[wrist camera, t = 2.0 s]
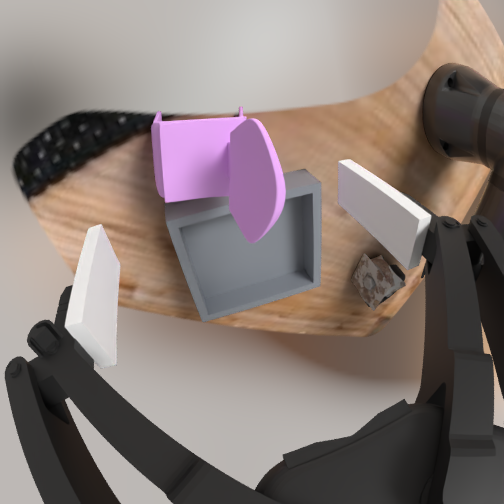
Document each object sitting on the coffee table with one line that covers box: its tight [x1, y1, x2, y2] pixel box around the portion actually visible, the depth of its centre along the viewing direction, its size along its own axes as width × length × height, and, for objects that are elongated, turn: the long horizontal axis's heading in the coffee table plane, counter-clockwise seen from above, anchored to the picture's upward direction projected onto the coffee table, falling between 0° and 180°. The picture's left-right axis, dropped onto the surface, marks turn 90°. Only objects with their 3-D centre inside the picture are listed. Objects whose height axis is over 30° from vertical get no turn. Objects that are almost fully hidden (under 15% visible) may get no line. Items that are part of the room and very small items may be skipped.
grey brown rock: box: [351, 253, 406, 311], centre depth 46 cm, size 7×11×10 cm
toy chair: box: [151, 107, 286, 243], centre depth 22 cm, size 8×9×15 cm
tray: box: [165, 169, 321, 322], centre depth 35 cm, size 16×15×4 cm
